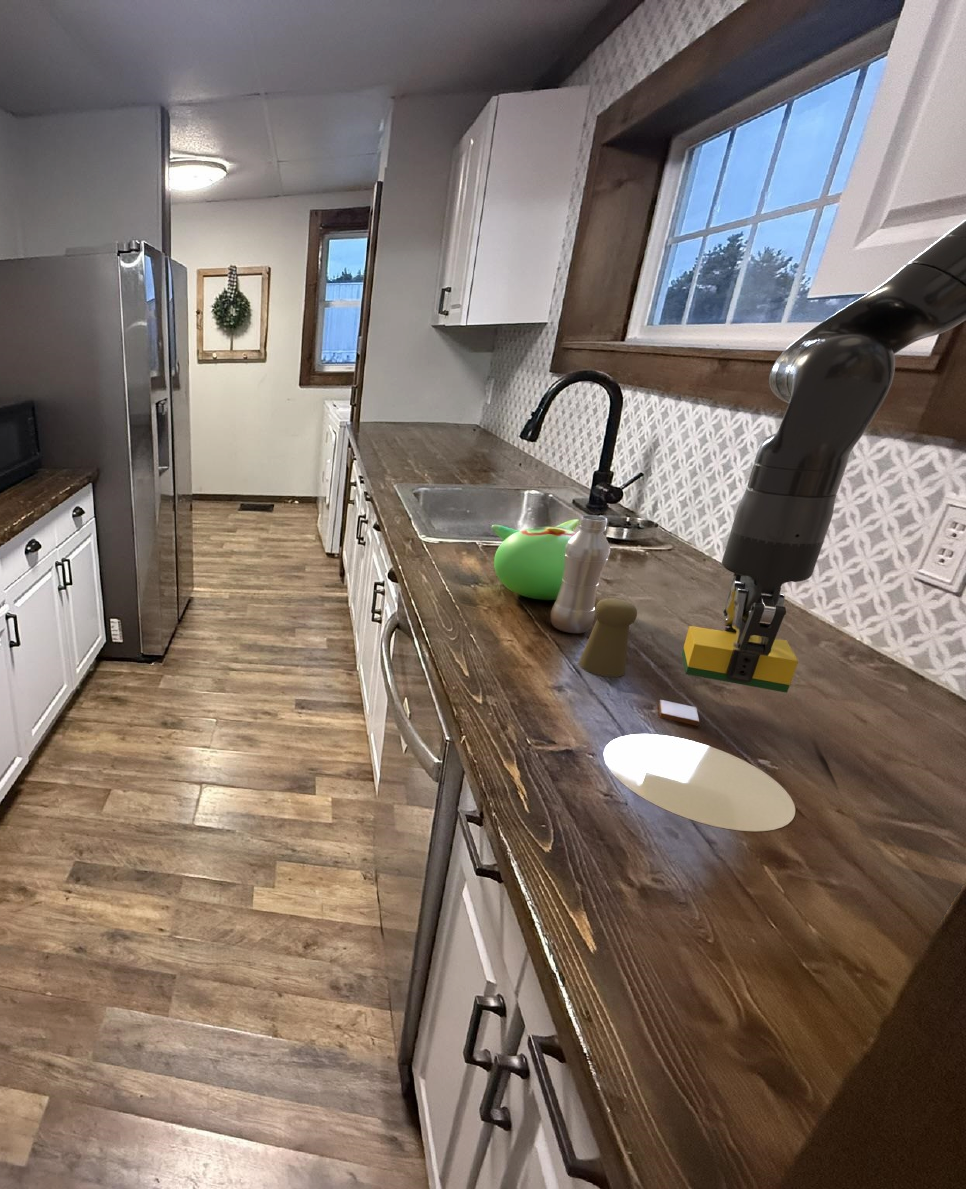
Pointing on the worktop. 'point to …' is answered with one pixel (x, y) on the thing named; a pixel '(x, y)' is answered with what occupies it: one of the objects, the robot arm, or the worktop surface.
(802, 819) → the worktop surface
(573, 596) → the plastic bottle
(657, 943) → the worktop surface
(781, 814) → the plate
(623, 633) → the cork
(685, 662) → the sponge
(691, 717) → the brown wooden tile
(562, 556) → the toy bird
